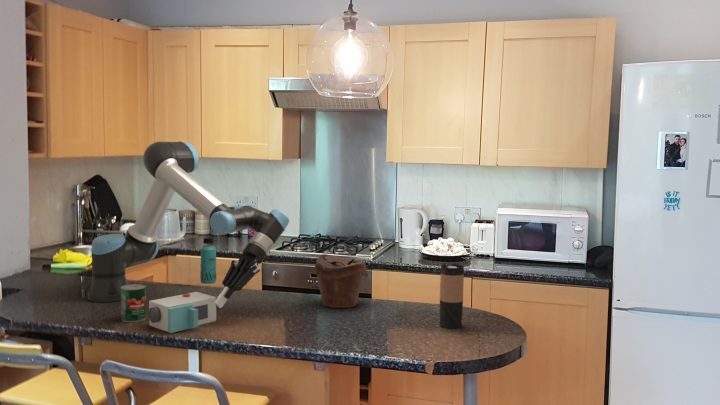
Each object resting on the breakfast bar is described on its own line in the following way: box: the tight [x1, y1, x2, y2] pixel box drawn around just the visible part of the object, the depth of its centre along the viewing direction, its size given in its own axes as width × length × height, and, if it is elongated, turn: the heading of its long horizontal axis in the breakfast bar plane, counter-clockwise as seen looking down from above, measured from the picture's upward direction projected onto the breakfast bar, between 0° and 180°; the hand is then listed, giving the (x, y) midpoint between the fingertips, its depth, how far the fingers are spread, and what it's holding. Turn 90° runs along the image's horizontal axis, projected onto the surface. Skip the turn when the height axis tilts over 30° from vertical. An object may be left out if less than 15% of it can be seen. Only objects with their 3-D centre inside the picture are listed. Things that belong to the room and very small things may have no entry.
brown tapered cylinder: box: [313, 253, 369, 309], centre depth 239 cm, size 18×20×18 cm
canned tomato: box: [120, 283, 147, 323], centre depth 215 cm, size 8×8×11 cm
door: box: [167, 304, 199, 334], centre depth 201 cm, size 4×8×8 cm, turn 139°
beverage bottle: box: [199, 237, 217, 285], centre depth 264 cm, size 6×7×20 cm
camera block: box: [147, 291, 217, 333], centre depth 210 cm, size 11×20×9 cm, turn 139°
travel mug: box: [439, 263, 465, 329], centre depth 213 cm, size 8×8×20 cm
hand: (217, 305), depth 209 cm, fingers closed
